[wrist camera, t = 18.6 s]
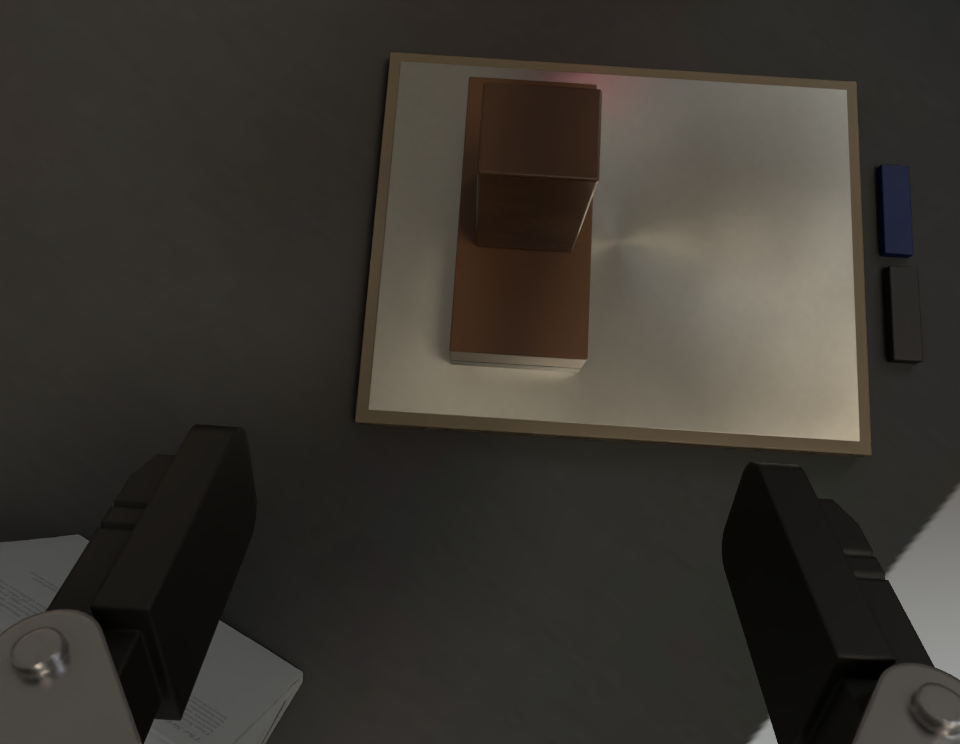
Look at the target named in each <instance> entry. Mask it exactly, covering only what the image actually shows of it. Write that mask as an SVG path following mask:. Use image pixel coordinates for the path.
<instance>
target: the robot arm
mask: <svg viewBox="0 0 960 744" xmlns="http://www.w3.org/2000/svg"><path fill="white" fill-rule="evenodd" d="M256 505H257V504H256V493H255V486H254V479H253V472H252V465H251V458H250V451H249V445H248V438H247V434H246V431H245V430H244V428H242V427H227V426H212V425H194V426H193V427H192V428H191V429H190V430H189V432H188V434H187V435H186V437H185V439H184V441H183V442H182V444H181V446H180V448H179V449H178V451H177V453H176V455H159V454H157V455H156V456H155V457H153V458H152V459H151V460H150V461H148V462H147V463H146V464H144V465H143V466H142V467H141V468H139V469H138V470H137V471H136V472H134V473H133V474H132V475H130V477H129V478H128V480H127V482H126V483H125V485H124V486H123V488H122V490H121V491H120V493H119V495H118V496H117V498H116V499H115V501H114V506H111V507H110V509H109V511H108V512H107V514H106V515H105V517H104V519H103V520H102V522H101V527H100V528H97V530H96V531H95V533H94V535H93V536H92V538H91V539H90V541H89V543H88V544H87V546H86V547H85V549H84V551H83V552H82V554H81V555H80V557H79V559H78V560H77V562H76V563H75V565H74V567H73V568H72V570H71V571H70V573H69V575H68V576H67V578H66V579H65V581H64V583H63V584H62V586H61V587H60V589H59V591H58V592H57V594H56V596H55V597H54V599H53V600H52V602H51V604H50V605H49V607H48V608H47V609H46V611H45V612H41V613H38V614H35V615H32V616H29V617H27V618H25V619H23V620H21V621H19V622H17V623H15V624H14V625H12V626H10V627H9V628H7V629H6V630H5V631H3V632H2V633H1V634H0V744H144V742H145V740H146V738H147V735H148V733H149V730H150V728H151V726H152V723H153V721H154V719H160V720H176V721H181V719H182V716H183V714H184V711H185V708H186V706H187V703H188V701H189V698H190V695H191V693H192V690H193V688H194V685H195V682H196V680H197V677H198V675H199V672H200V669H201V667H202V664H203V662H204V659H205V657H206V654H207V651H208V649H209V646H210V644H211V641H212V638H213V636H214V633H215V631H216V628H217V625H218V623H219V620H220V618H221V615H222V612H223V610H224V607H225V605H226V602H227V599H228V597H229V594H230V592H231V589H232V586H233V584H234V581H235V579H236V576H237V573H238V571H239V568H240V566H241V563H242V560H243V558H244V555H245V553H246V550H247V547H248V545H249V542H250V540H251V537H252V534H253V530H254V525H255V519H256ZM722 559H723V565H724V570H725V573H726V576H727V580H728V583H729V586H730V589H731V593H732V596H733V599H734V602H735V606H736V609H737V612H738V615H739V619H740V622H741V625H742V628H743V632H744V635H745V638H746V641H747V645H748V648H749V651H750V654H751V658H752V661H753V664H754V667H755V671H756V674H757V677H758V680H759V684H760V687H761V690H762V693H763V697H764V700H765V703H766V706H767V710H768V713H769V716H770V719H771V723H772V726H773V729H774V732H775V735H776V739H777V742H778V744H960V680H959V679H957V678H955V677H954V676H952V675H950V674H948V673H946V672H944V671H942V670H940V669H937V668H935V667H934V665H933V663H932V661H931V660H930V658H929V656H928V654H927V652H926V650H925V648H924V646H923V645H922V643H921V641H920V639H919V637H918V635H917V633H916V631H915V630H914V628H913V626H912V624H911V622H910V620H909V618H908V616H907V615H906V613H905V611H904V609H903V607H902V605H901V603H900V601H899V600H898V598H897V596H896V594H895V592H894V590H893V588H892V586H891V585H890V583H889V581H888V580H885V573H884V571H883V569H882V568H881V566H880V564H879V562H878V560H877V558H876V557H873V551H872V549H871V547H870V545H869V543H868V541H867V539H866V538H865V536H864V534H863V532H862V530H861V528H860V526H859V524H858V523H857V522H855V521H854V520H853V519H852V518H851V517H850V516H849V515H848V514H847V513H846V512H845V511H844V510H843V509H842V508H841V507H840V506H839V505H838V504H837V503H836V502H835V501H833V500H831V499H818V498H817V496H816V494H815V492H814V490H813V488H812V486H811V484H810V482H809V480H808V478H807V476H806V474H805V472H804V470H803V469H802V468H801V467H800V466H799V465H791V464H775V463H760V462H750V463H748V464H747V466H746V467H745V469H744V471H743V474H742V477H741V480H740V483H739V486H738V489H737V492H736V495H735V498H734V501H733V504H732V507H731V510H730V513H729V516H728V519H727V522H726V525H725V529H724V533H723V539H722Z"/></svg>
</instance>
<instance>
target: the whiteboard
mask: <svg viewBox="0 0 960 744" xmlns="http://www.w3.org/2000/svg"><path fill="white" fill-rule="evenodd" d="M469 77H485V78H500V79H516V80H532V81H548V82H564V83H579V84H595V85H597V89H600V90H601V91H602V115H601V146H600V177H599V182H598V184H597V187H596V190H595V192H594V195H593V217H592V247H591V276H590V305H589V334H588V359H587V360H586V362H585V363H584V365H583V366H582V367H581V369H580V371H579V372H578V373H576V372H561V371H545V370H529V369H513V368H497V367H482V366H466V365H452V364H451V360H450V351H449V347H450V334H451V320H452V306H453V292H454V278H455V264H456V250H457V236H458V222H459V208H460V194H461V181H462V167H463V153H464V139H465V125H466V111H467V97H468V83H469ZM355 422H356V423H357V424H358V425H365V426H381V427H396V428H412V429H428V430H443V431H459V432H474V433H490V434H505V435H521V436H537V437H552V438H568V439H583V440H599V441H614V442H630V443H645V444H661V445H677V446H692V447H708V448H723V449H739V450H754V451H770V452H786V453H801V454H817V455H832V456H848V457H864V456H870V455H871V431H870V407H869V382H868V357H867V332H866V307H865V283H864V258H863V233H862V208H861V184H860V159H859V134H858V109H857V84H856V82H850V81H834V80H818V79H803V78H787V77H772V76H756V75H740V74H725V73H709V72H694V71H678V70H663V69H647V68H631V67H616V66H600V65H585V64H569V63H554V62H538V61H522V60H507V59H491V58H476V57H460V56H445V55H429V54H413V53H398V52H391V53H390V63H389V73H388V83H387V94H386V104H385V114H384V125H383V135H382V145H381V156H380V166H379V176H378V187H377V197H376V207H375V218H374V228H373V238H372V249H371V259H370V269H369V280H368V290H367V300H366V311H365V321H364V331H363V342H362V352H361V362H360V373H359V383H358V393H357V404H356V414H355Z"/></svg>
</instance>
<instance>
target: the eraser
mask: <svg viewBox="0 0 960 744" xmlns="http://www.w3.org/2000/svg"><path fill="white" fill-rule="evenodd" d="M601 115H602V91H601V90H600V89H597V85H595V84H579V83H564V82H548V81H532V80H516V79H500V78H485V77H469V83H468V97H467V111H466V125H465V139H464V153H463V167H462V181H461V194H460V208H459V222H458V236H457V250H456V264H455V278H454V292H453V306H452V320H451V334H450V347H449V351H450V360H451V364H452V365H466V366H482V367H497V368H513V369H529V370H545V371H561V372H576V373H578V372H579V371H580V369H581V367H582V366H583V365H584V363H585V362H586V360H587V359H588V334H589V305H590V276H591V247H592V217H593V195H594V192H595V190H596V187H597V184H598V182H599V177H600V146H601Z"/></svg>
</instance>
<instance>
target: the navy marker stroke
mask: <svg viewBox="0 0 960 744" xmlns="http://www.w3.org/2000/svg"><path fill="white" fill-rule="evenodd" d="M876 173H877V198H878V222H879V247H880V256H884V257H899V258H909V257H910V256H912V255H913V241H912V221H911V201H910V181H909V167H908V166H895V165H880V166H879V167H878V168H877V169H876Z"/></svg>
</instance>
